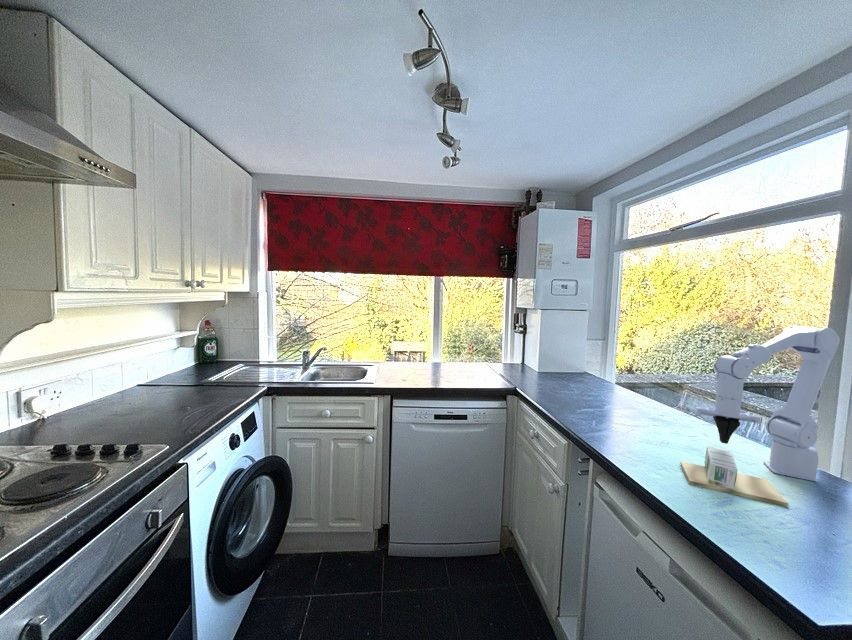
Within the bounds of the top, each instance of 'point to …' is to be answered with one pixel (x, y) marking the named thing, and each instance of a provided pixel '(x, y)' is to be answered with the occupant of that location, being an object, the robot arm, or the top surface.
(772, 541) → the top surface
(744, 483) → the bamboo board
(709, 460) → the syrup box
